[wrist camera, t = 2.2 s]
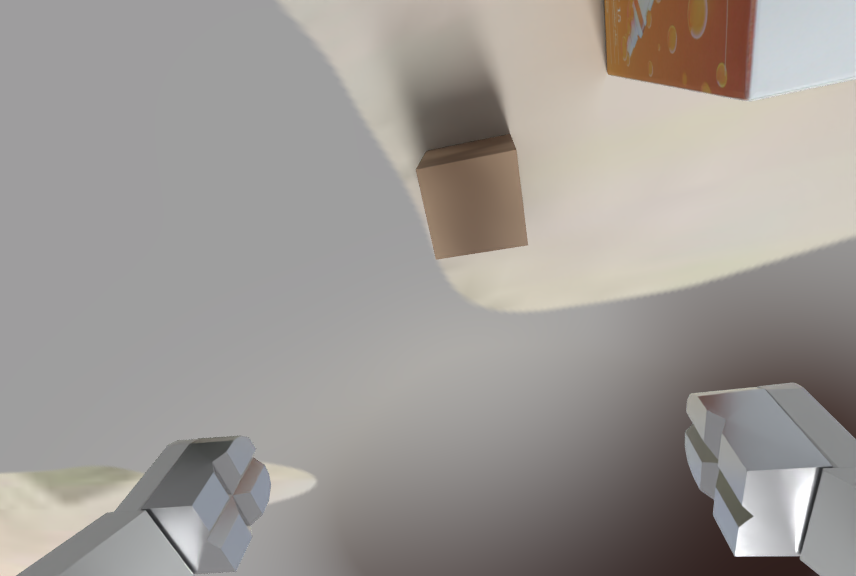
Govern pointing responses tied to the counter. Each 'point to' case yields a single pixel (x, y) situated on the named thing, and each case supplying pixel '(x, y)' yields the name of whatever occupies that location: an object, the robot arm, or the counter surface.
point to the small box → (732, 44)
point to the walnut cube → (473, 197)
